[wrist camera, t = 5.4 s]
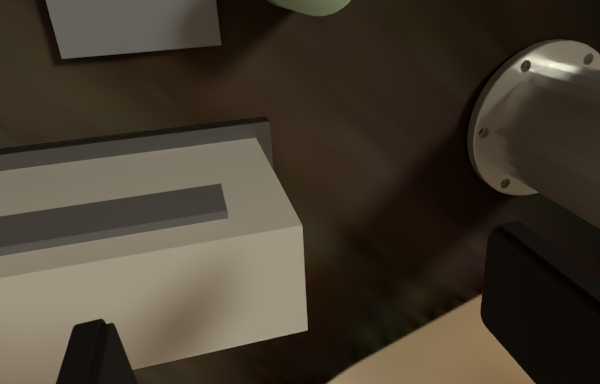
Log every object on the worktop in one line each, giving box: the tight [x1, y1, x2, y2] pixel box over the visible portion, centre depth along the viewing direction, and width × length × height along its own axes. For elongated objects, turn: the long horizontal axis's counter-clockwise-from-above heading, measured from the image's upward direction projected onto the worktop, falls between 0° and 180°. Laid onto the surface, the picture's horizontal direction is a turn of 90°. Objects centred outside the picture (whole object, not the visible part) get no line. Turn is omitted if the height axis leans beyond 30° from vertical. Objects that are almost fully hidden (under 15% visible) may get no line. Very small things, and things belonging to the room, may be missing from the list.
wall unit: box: [0, 117, 308, 384], centre depth 25 cm, size 20×8×13 cm, turn 93°
